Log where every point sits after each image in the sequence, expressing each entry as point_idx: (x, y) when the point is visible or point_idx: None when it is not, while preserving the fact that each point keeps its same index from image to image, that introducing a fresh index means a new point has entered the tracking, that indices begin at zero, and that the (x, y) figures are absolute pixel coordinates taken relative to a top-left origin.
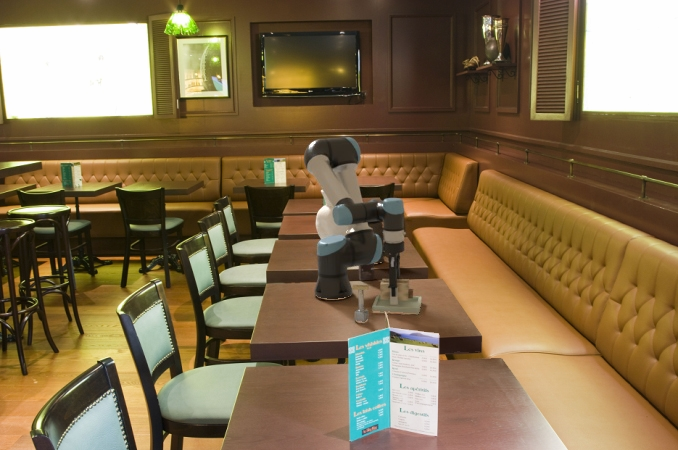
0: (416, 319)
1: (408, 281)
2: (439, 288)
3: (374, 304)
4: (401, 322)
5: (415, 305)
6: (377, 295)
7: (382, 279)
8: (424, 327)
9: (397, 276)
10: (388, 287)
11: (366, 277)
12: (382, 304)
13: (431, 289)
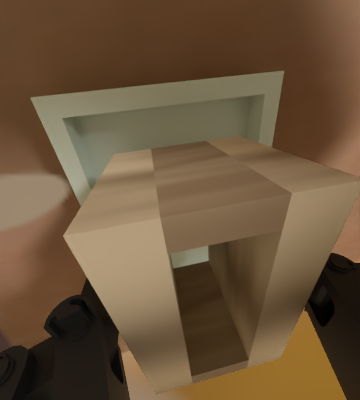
0: (83, 283)
1: (230, 372)
2: (355, 255)
3: (87, 104)
4: (21, 258)
5: (192, 259)
6: (278, 75)
7: (326, 190)
8: (25, 316)
9: (328, 341)
10: (57, 312)
11: None
12: (179, 135)
13: (354, 241)
